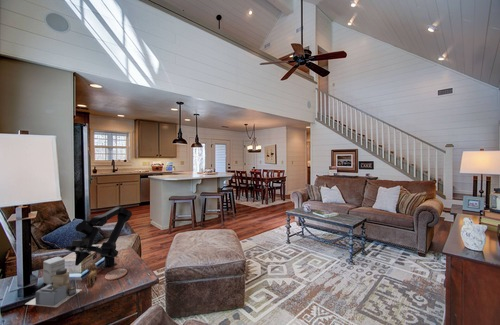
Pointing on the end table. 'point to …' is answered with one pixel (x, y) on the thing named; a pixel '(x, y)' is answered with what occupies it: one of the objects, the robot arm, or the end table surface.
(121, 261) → the end table surface
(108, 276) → the end table surface
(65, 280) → the knob
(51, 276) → the supplement box
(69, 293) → the potentiometer
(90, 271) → the lion figurine
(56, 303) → the mount
